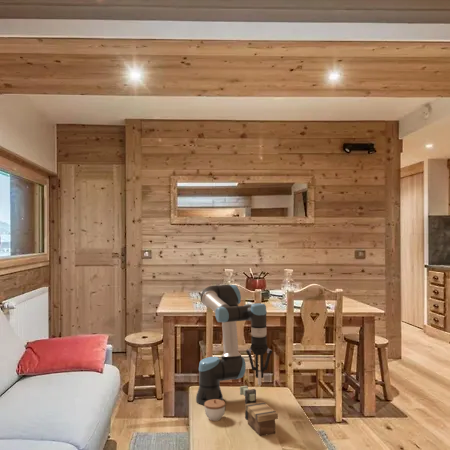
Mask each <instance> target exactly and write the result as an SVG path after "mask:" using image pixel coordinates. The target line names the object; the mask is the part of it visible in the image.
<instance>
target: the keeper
mask: <svg viewBox="0 0 450 450" xmlns="http://www.w3.org/2000/svg"><path fill="white" fill-rule="evenodd" d="M248 393H254V394H255V401H250V400H249V398H248ZM250 403H257V390H256V389H255V388H252V389H251V388H250V389H249V390H245V396H244V405H245V404H250ZM244 410H245V409H244ZM244 413H245V414H244V415H245V417H244V418H245V420H246V421H248V412H247V411H246V410H245V411H244Z"/></svg>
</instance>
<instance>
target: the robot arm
mask: <svg viewBox="0 0 450 450" xmlns="http://www.w3.org/2000/svg"><path fill="white" fill-rule="evenodd" d="M241 300H242V296H241V291H240V288H239V287H238V286H237V285H236V284H217V285H215V284H214V285H209V286H207V287H205V288H204V289H203V290H202V292H201V293H200V302H201V304H202V305H203V306H205V307H206V308H210V309H211V310H212V311H213V312H214V313H215V315H214V316H215V319H216V322H217V323H221V328H222V344H223V345H222V346H223V353H222V354H221V358H219V357H218V356H208V357H205V358H202V359H201V360H200V361H199V364H198V390H197V392H196V395H195V401H196V403H197V404H199V405H203V406H204V403H205V402H206V401H208V400H212V399H219V400H223V401H224V397H223V392H222V389H221V387H220V386H221V385H220V382H222V381H230V380H239V379H241V378H244V375H245V373H246V360H245V358H244V357H243V356H242V354H241V353H240V352H239V341H238V326H237V322H244V321H249V322H250V328H251V329H250V330H251V331H250V334H251V338H250V339H251V341H250V343H251V345H250V348H248V349H246V351H245V352H246V354H247V356H248V359H249V363H250V367H251V370H252V371H255V378H256V379H257V385H258V386H262V379H263V378H264V372H265V371H267V370H268V366H269V362H270V359H271V355H272V353H273V350H272V349H270V348H269V346H268V341H267V340H268V338H267V333H268V332H267V305H266V304H265V303H260V302H259V303H258V302H257V303H252V304H250V303H249V304H248V303H247V304H244V305H239V304H241ZM252 353H253V354H254V356H255V357H254V359H255V361H253V357H252ZM265 353H267V354H266V358H265V362H264V355H265ZM259 356H260V369H259ZM254 363H255V365H254Z"/></svg>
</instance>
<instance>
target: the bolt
mask: <svg viewBox="0 0 450 450" xmlns="http://www.w3.org/2000/svg"><path fill="white" fill-rule="evenodd" d="M245 390H250V389H249V387H248V385H243V386H239V395H241V396H244V397H245ZM248 398H249V400H250V401H255V394H254V393H248Z"/></svg>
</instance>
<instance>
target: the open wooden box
mask: <svg viewBox="0 0 450 450" xmlns="http://www.w3.org/2000/svg"><path fill="white" fill-rule="evenodd" d="M247 425H248V426H249V427H250V428H251V429H252V430H253V431H254V432H255V433H256V434H257V435H258V436H259V437H262V436H263V437H264V436H267V435H273V434H276V419H274V420H268V421H262V422H258V421H257V420H256V419H255V418H254V417H253V416H252V415H251V414H249V413H248V420H247Z"/></svg>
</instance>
